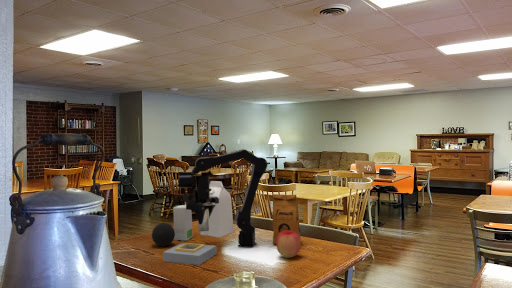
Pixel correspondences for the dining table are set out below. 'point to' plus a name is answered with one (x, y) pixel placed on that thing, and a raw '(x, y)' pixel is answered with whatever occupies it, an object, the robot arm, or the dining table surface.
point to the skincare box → (182, 223)
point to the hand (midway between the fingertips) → (203, 223)
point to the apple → (288, 243)
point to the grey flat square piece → (189, 253)
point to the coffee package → (285, 215)
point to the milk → (220, 212)
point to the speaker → (163, 234)
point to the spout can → (204, 222)
